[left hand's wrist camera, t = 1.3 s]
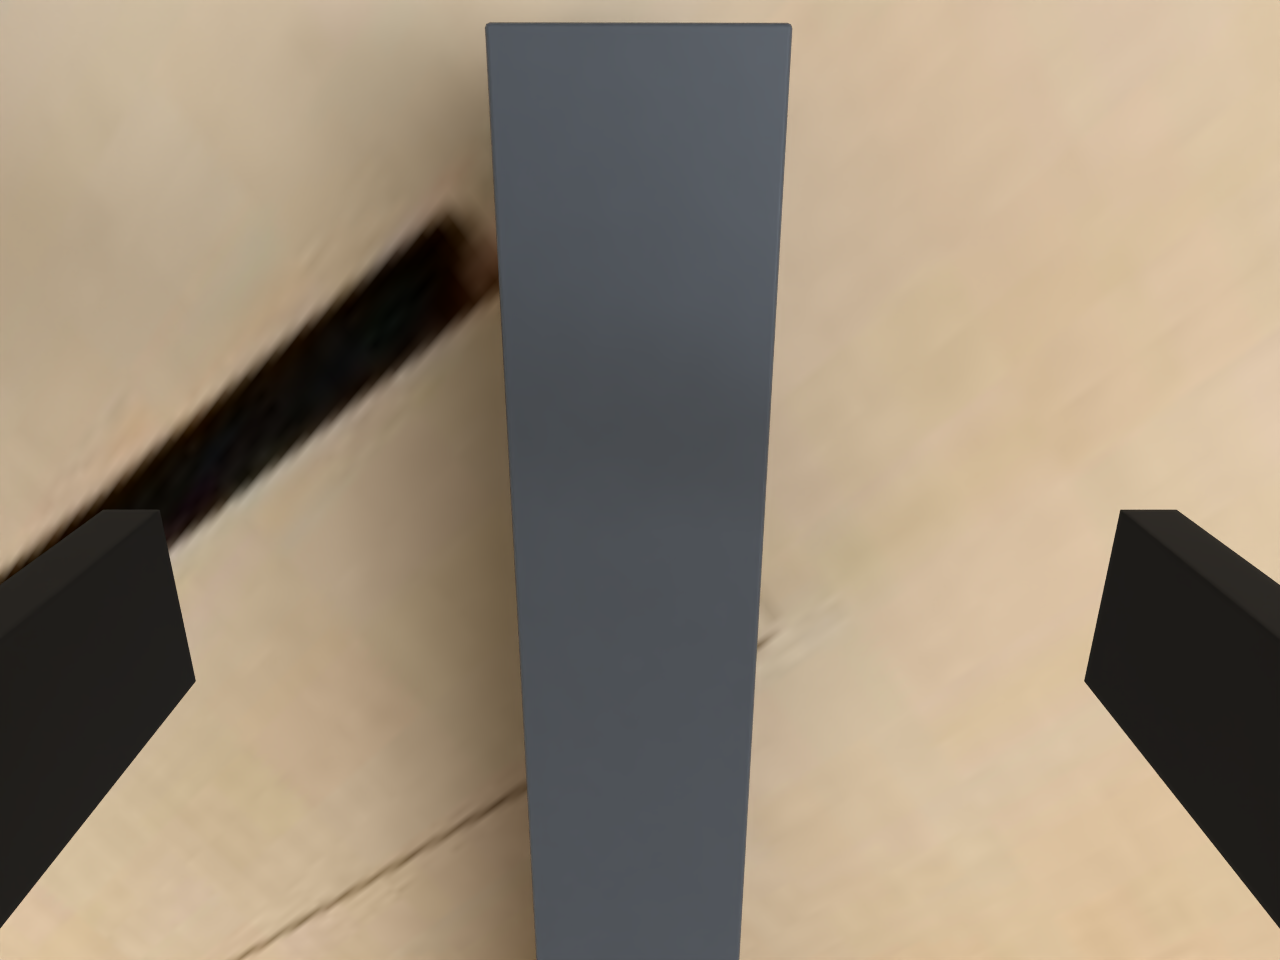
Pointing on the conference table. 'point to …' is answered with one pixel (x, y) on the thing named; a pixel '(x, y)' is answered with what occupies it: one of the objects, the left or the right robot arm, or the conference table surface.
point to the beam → (638, 459)
